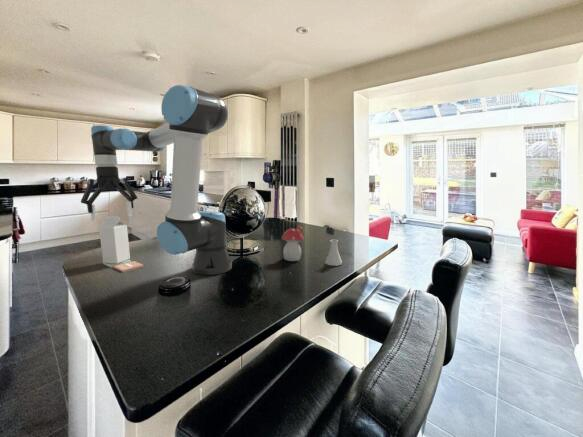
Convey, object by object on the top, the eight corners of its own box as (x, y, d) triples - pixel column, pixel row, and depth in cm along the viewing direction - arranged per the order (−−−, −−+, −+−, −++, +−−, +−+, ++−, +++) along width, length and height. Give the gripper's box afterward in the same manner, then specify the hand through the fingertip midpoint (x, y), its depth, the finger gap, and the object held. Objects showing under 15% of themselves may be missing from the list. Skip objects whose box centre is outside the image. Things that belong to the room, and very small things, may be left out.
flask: (345, 262, 125) (345, 239, 123) (337, 267, 119) (338, 243, 117) (329, 259, 129) (330, 237, 127) (321, 264, 123) (322, 241, 122)
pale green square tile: (131, 262, 126) (131, 260, 126) (110, 267, 120) (110, 265, 120) (122, 259, 131) (122, 256, 131) (102, 263, 125) (102, 261, 125)
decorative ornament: (305, 258, 131) (305, 225, 128) (299, 263, 125) (299, 228, 122) (285, 256, 134) (285, 223, 132) (279, 260, 128) (279, 226, 126)
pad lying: (143, 266, 121) (143, 264, 121) (122, 272, 115) (122, 269, 114) (134, 262, 126) (134, 260, 125) (113, 267, 119) (113, 265, 119)
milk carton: (117, 264, 121) (112, 218, 118) (102, 262, 123) (97, 217, 119) (130, 258, 128) (126, 215, 125) (116, 257, 129) (111, 214, 126)
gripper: (134, 166, 130) (139, 213, 134) (66, 166, 111) (73, 222, 114) (142, 165, 126) (147, 215, 129) (72, 166, 106) (80, 224, 110)
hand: (113, 218), depth 122 cm, fingers open, 13 cm apart
